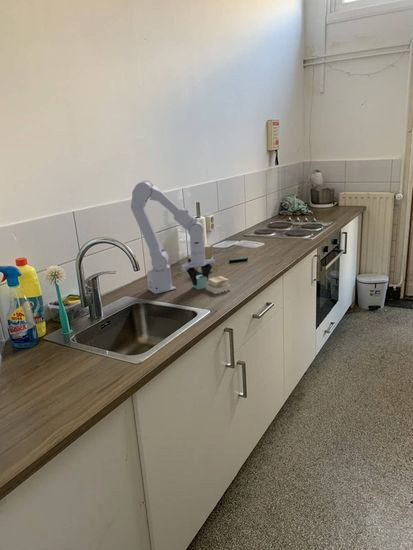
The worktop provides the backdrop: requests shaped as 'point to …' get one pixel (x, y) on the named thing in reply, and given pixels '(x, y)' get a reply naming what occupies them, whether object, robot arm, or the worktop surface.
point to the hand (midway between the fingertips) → (200, 283)
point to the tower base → (217, 289)
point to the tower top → (218, 282)
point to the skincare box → (207, 256)
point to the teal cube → (201, 282)
